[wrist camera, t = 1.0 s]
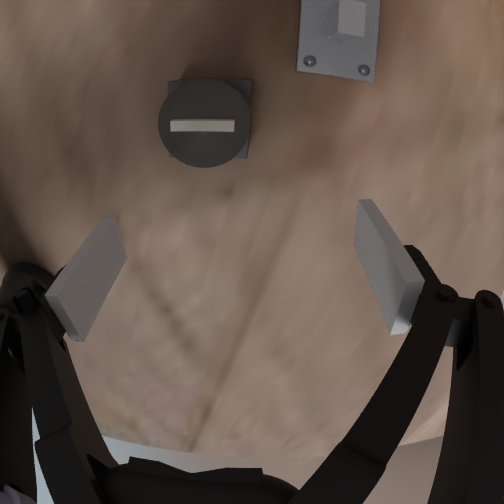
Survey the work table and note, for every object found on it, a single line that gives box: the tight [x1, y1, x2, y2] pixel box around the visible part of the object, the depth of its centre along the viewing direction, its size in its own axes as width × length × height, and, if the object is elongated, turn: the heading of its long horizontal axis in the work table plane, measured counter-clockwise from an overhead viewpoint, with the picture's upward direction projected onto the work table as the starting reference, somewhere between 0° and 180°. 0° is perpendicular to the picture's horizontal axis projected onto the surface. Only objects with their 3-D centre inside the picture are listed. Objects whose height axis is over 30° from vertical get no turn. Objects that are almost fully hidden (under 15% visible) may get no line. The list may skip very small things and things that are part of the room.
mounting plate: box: [296, 0, 380, 83], centre depth 21 cm, size 8×12×5 cm, turn 177°
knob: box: [158, 78, 252, 168], centre depth 26 cm, size 8×8×8 cm
